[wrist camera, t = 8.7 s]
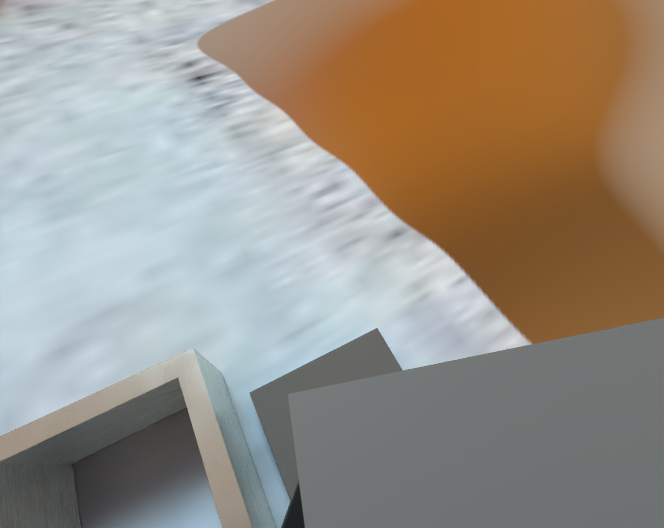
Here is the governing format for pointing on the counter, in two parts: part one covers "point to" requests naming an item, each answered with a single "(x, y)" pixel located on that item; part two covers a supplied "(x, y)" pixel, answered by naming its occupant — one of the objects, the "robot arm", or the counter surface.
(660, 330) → the grey capped orange post
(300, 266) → the counter surface
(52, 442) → the socket
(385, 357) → the rubber mat
